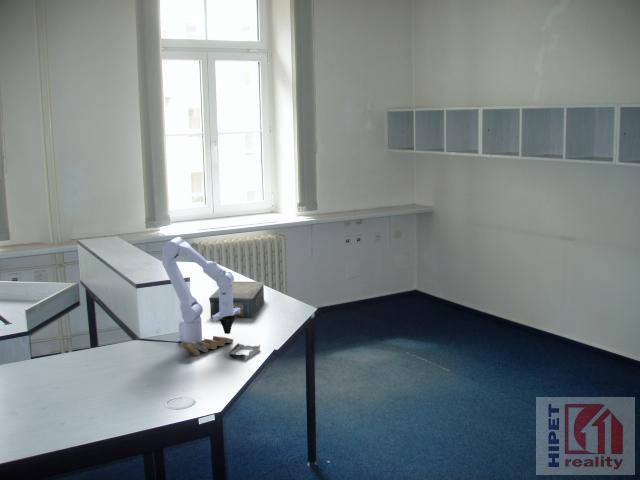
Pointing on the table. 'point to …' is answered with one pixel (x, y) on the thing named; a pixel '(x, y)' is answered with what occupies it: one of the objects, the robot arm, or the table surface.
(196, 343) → the domino
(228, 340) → the domino
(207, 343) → the domino
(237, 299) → the metal box
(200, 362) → the table surface
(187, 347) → the domino
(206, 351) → the domino
